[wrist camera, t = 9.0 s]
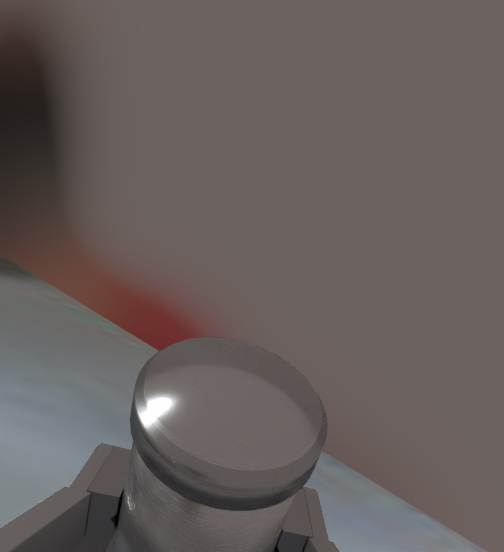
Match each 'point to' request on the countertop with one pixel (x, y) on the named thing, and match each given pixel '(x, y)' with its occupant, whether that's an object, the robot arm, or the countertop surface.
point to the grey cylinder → (217, 448)
